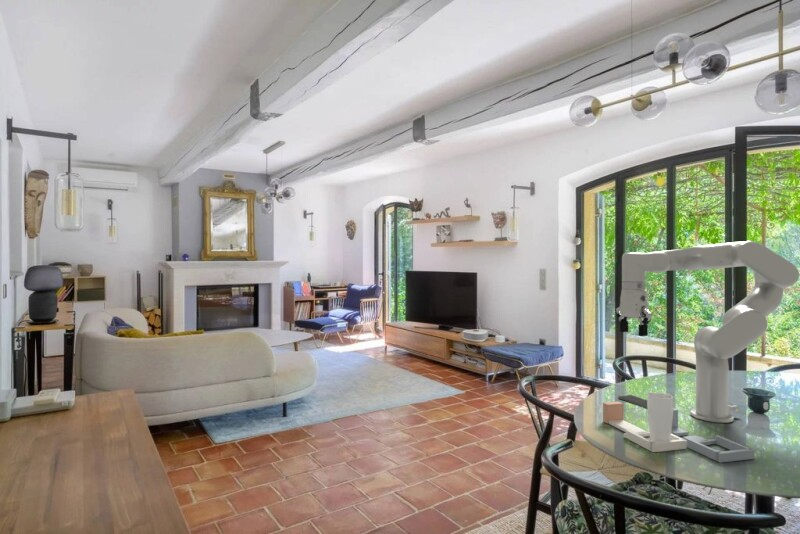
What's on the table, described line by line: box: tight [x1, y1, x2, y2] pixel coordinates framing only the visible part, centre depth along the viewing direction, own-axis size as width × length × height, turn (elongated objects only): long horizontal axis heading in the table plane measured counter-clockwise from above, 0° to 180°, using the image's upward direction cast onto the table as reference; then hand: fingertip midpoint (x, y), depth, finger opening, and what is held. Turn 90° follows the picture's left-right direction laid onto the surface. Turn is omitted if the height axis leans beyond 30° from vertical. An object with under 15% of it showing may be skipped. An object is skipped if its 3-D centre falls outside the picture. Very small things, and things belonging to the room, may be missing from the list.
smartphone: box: [617, 394, 647, 409], centre depth 183 cm, size 7×1×16 cm
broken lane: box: [671, 407, 755, 463], centre depth 142 cm, size 11×26×6 cm, turn 13°
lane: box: [602, 401, 688, 453], centre depth 149 cm, size 11×26×6 cm, turn 13°
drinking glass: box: [646, 391, 675, 442], centre depth 140 cm, size 7×7×15 cm
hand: (633, 333), depth 173 cm, fingers open, 9 cm apart
